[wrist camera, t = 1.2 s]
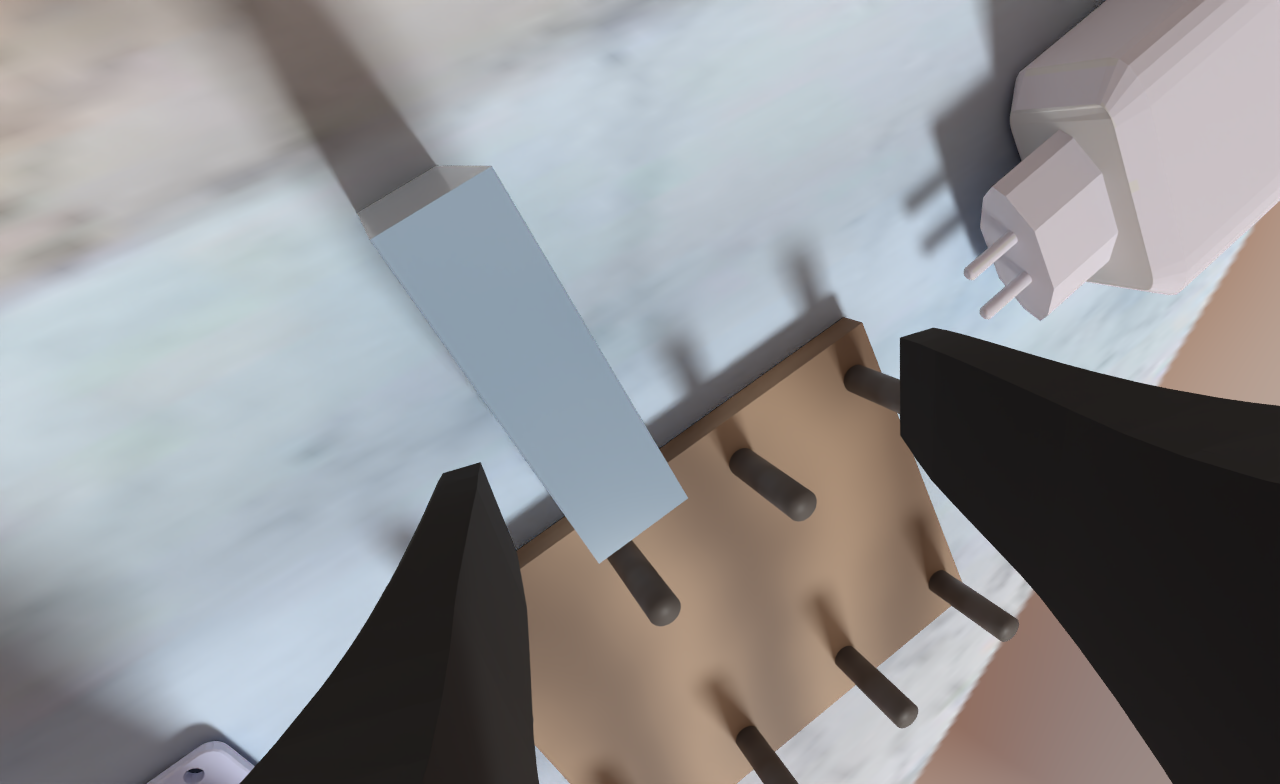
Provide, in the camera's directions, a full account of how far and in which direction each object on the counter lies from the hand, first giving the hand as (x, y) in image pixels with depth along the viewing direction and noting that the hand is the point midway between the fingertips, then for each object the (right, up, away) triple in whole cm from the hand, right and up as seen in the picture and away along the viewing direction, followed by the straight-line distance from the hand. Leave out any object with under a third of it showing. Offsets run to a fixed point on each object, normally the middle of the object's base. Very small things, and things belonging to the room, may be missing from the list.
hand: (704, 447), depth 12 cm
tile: (-6, +3, +9) cm, 11 cm away
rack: (+2, -7, +15) cm, 17 cm away
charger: (+15, +10, +16) cm, 24 cm away
